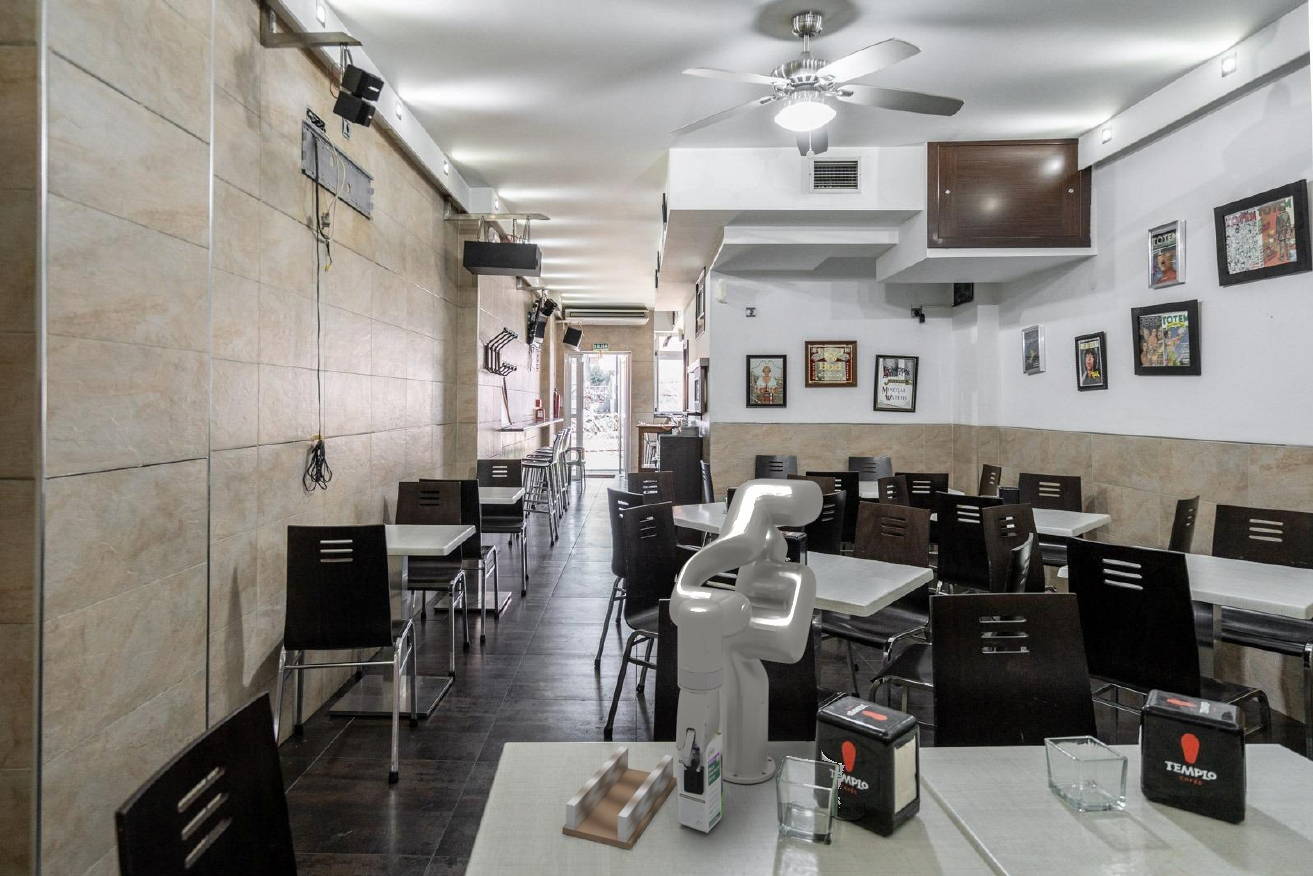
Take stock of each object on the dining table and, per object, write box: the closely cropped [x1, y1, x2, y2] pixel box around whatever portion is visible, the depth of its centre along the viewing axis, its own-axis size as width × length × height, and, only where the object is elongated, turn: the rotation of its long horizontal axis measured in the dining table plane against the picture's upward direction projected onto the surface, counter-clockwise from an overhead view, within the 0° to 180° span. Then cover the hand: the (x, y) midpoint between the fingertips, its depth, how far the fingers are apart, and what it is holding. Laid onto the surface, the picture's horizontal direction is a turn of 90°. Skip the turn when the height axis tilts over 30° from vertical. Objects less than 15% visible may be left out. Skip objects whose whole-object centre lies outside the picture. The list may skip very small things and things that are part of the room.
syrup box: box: [676, 732, 724, 834], centre depth 119 cm, size 6×6×14 cm
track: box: [562, 745, 678, 850], centre depth 125 cm, size 22×12×5 cm, turn 159°
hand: (700, 780), depth 119 cm, fingers closed on syrup box, 6 cm apart
